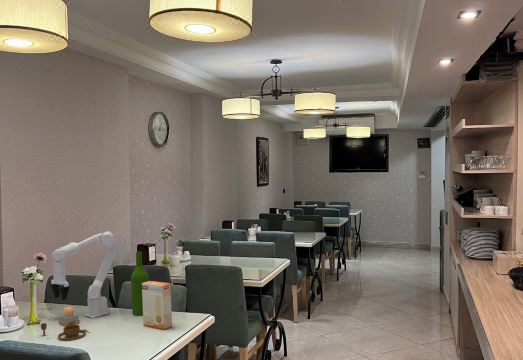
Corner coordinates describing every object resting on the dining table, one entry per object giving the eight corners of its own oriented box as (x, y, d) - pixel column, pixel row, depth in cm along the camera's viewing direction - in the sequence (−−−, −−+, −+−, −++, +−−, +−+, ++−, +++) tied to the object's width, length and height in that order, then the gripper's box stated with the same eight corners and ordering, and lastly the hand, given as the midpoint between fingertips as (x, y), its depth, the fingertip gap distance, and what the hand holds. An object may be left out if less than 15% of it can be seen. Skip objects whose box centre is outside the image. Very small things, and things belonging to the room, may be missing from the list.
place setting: (59, 346, 215) (58, 332, 215) (38, 337, 229) (38, 324, 228) (95, 335, 228) (95, 322, 228) (74, 327, 242) (73, 315, 242)
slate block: (72, 317, 249) (72, 312, 249) (78, 319, 245) (78, 314, 245) (60, 320, 245) (60, 315, 244) (67, 322, 241) (66, 317, 241)
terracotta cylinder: (71, 313, 248) (70, 305, 248) (75, 315, 245) (75, 307, 245) (62, 315, 245) (62, 307, 245) (66, 317, 242) (66, 309, 242)
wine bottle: (144, 310, 265) (141, 249, 265) (153, 313, 259) (150, 251, 258) (129, 314, 259) (126, 252, 258) (138, 317, 253) (135, 253, 252)
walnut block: (72, 322, 250) (72, 317, 250) (79, 324, 245) (79, 319, 245) (59, 325, 245) (59, 320, 245) (66, 328, 240) (66, 323, 240)
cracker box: (172, 326, 235) (171, 282, 234) (163, 330, 230) (161, 285, 229) (152, 322, 243) (150, 280, 242) (143, 325, 238) (141, 282, 237)
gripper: (45, 272, 256) (46, 298, 256) (58, 275, 246) (59, 302, 246) (58, 270, 261) (59, 295, 261) (71, 273, 251) (73, 299, 252)
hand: (60, 298), depth 254 cm, fingers open, 7 cm apart
